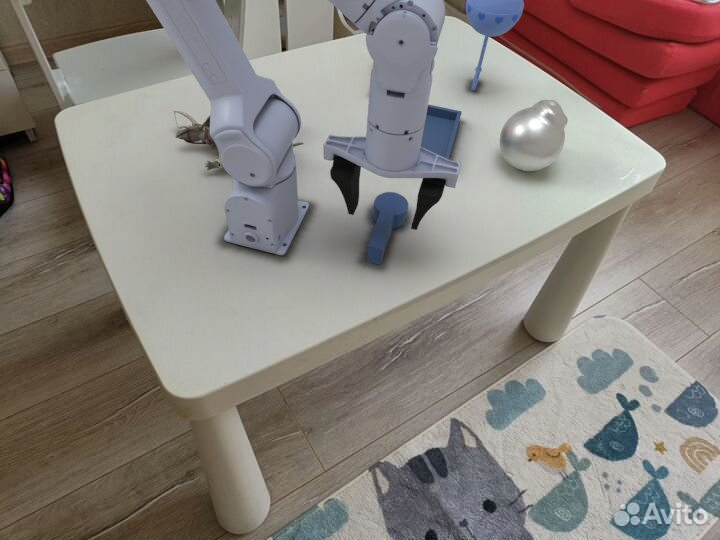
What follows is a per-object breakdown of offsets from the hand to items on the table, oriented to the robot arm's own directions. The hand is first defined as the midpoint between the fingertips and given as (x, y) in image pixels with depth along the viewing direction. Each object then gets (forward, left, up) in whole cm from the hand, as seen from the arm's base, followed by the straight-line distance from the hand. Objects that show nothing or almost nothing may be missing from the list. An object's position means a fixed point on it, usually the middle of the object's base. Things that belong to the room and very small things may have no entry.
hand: (384, 216), depth 62 cm
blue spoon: (+2, 0, -5) cm, 5 cm away
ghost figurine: (+22, -16, -5) cm, 28 cm away
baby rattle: (+40, -6, -5) cm, 41 cm away
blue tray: (+22, 0, -5) cm, 23 cm away
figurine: (+13, +25, -5) cm, 28 cm away
